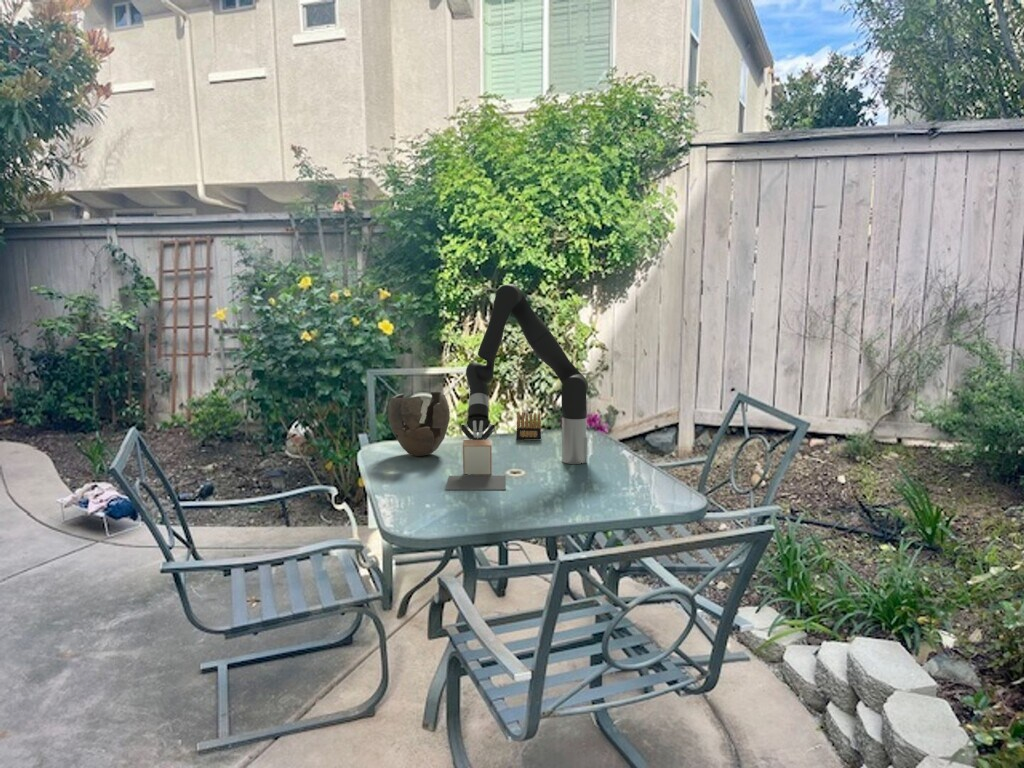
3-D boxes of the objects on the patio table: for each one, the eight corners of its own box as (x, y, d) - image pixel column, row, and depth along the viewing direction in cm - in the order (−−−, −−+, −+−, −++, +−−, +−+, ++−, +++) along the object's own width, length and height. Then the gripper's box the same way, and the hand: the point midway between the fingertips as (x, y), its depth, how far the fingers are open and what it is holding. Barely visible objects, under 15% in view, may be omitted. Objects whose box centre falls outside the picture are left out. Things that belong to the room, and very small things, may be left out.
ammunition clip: (541, 439, 306) (541, 411, 304) (541, 440, 304) (541, 412, 302) (516, 438, 306) (516, 411, 304) (516, 439, 304) (516, 412, 303)
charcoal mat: (505, 476, 250) (505, 475, 250) (505, 490, 234) (505, 489, 234) (448, 476, 250) (448, 475, 249) (445, 490, 234) (445, 489, 234)
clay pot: (439, 464, 265) (438, 398, 261) (379, 460, 270) (377, 396, 266) (457, 448, 288) (456, 388, 284) (401, 445, 293) (399, 386, 289)
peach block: (491, 469, 255) (491, 439, 250) (491, 475, 252) (491, 445, 247) (464, 469, 255) (463, 439, 250) (463, 475, 251) (462, 445, 247)
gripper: (460, 402, 259) (458, 443, 249) (496, 402, 259) (495, 443, 249) (461, 413, 265) (459, 453, 255) (496, 413, 266) (496, 453, 255)
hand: (477, 448), depth 252 cm, fingers closed
